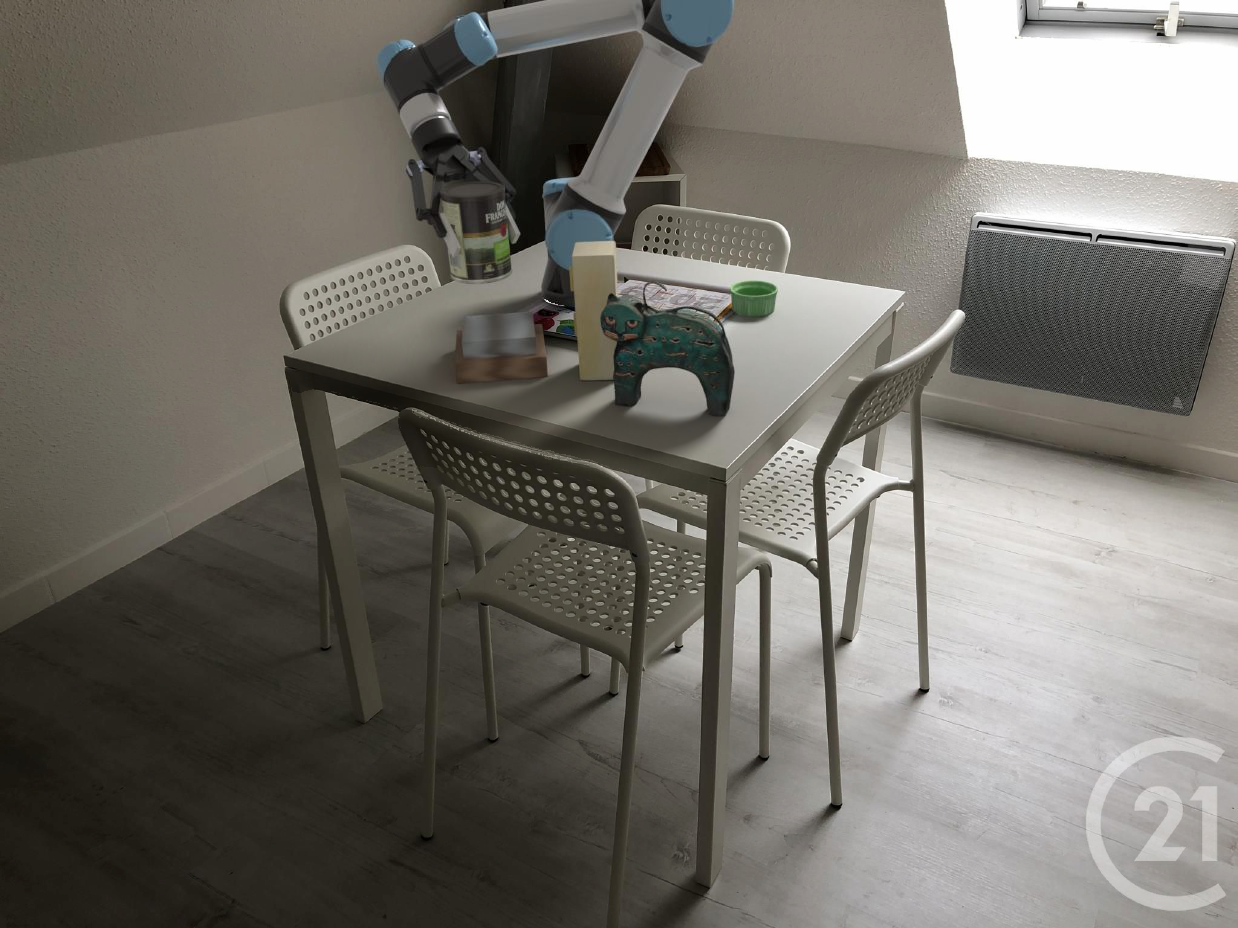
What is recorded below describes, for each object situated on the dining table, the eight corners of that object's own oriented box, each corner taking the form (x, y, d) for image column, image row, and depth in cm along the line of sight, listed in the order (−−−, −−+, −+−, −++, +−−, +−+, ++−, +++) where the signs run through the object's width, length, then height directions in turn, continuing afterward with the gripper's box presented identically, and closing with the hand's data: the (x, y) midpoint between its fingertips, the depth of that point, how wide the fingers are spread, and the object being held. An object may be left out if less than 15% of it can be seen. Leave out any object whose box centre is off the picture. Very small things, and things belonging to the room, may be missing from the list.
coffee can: (523, 267, 163) (515, 182, 156) (494, 287, 155) (484, 198, 148) (469, 261, 167) (460, 178, 160) (438, 281, 158) (426, 194, 151)
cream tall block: (578, 362, 166) (571, 241, 156) (621, 361, 166) (616, 240, 155) (574, 381, 159) (567, 256, 149) (619, 380, 159) (615, 255, 148)
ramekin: (719, 310, 186) (720, 287, 184) (752, 298, 191) (753, 277, 188) (753, 322, 180) (754, 299, 178) (786, 310, 184) (788, 288, 182)
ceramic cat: (602, 406, 151) (596, 282, 141) (615, 389, 156) (611, 268, 146) (727, 422, 145) (730, 293, 135) (737, 403, 150) (741, 278, 140)
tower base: (543, 342, 174) (540, 307, 171) (547, 376, 161) (545, 339, 158) (459, 348, 173) (454, 314, 170) (456, 383, 160) (452, 346, 157)
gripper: (486, 134, 168) (540, 243, 165) (362, 155, 157) (417, 272, 154) (498, 106, 162) (554, 219, 158) (370, 125, 151) (427, 247, 147)
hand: (487, 245), depth 156 cm, fingers closed on coffee can, 10 cm apart
